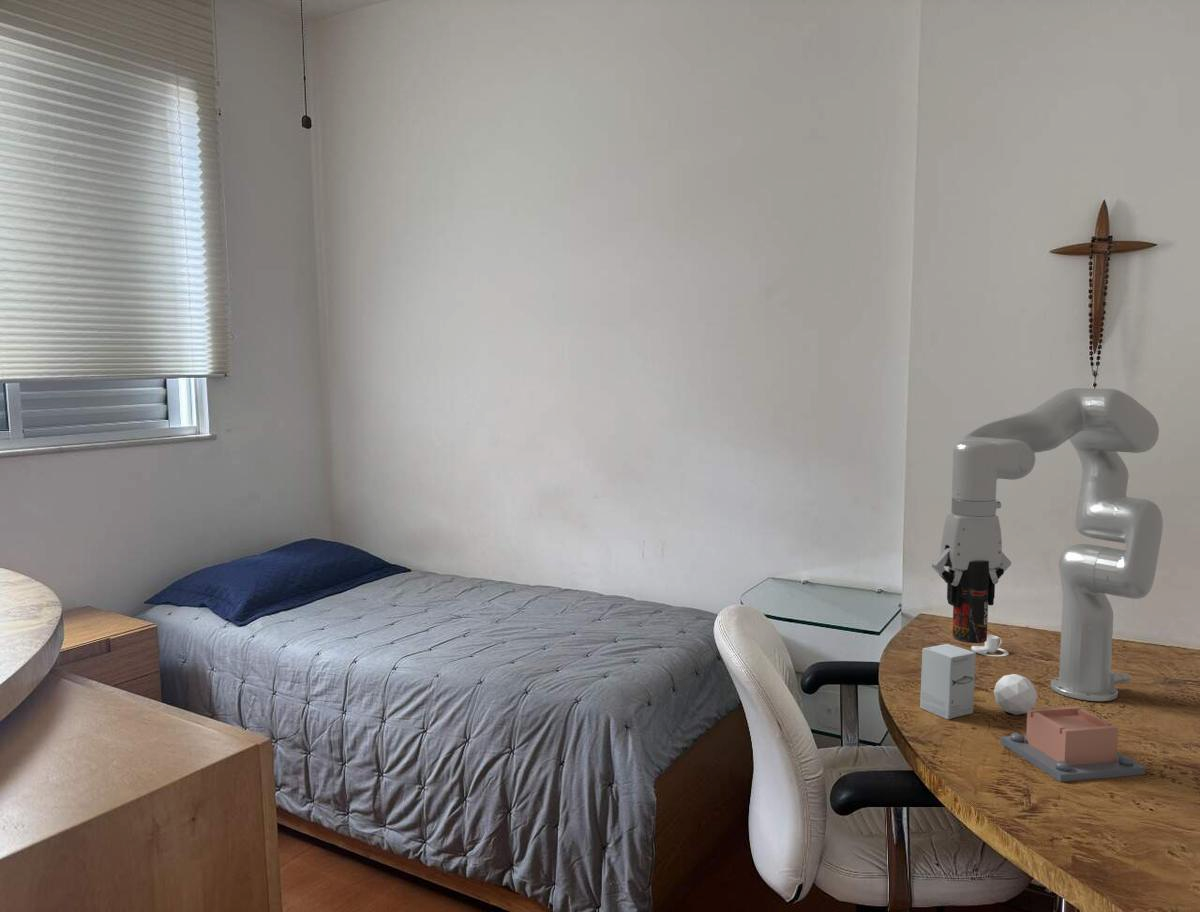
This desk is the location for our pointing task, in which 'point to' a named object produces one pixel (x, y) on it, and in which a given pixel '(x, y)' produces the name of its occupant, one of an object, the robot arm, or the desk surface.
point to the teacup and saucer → (990, 647)
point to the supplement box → (947, 681)
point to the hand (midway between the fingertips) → (970, 603)
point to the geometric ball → (1015, 694)
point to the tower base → (1067, 768)
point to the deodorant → (972, 604)
